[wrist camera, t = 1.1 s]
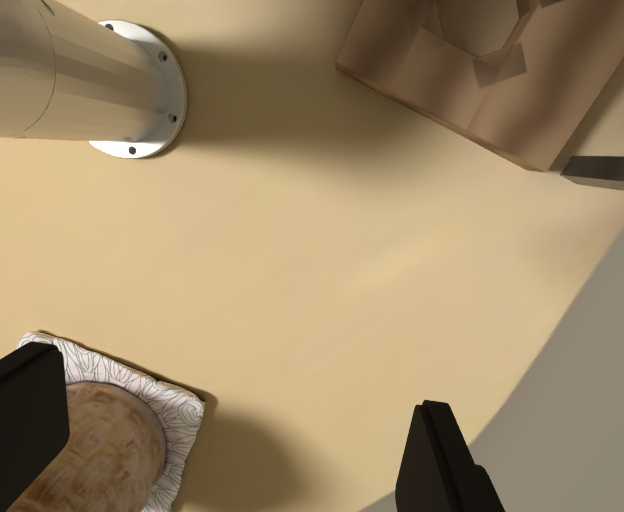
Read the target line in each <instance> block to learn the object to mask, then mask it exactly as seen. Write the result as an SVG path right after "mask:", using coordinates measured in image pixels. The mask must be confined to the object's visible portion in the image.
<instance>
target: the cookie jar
mask: <svg viewBox="0 0 624 512" xmlns="http://www.w3.org/2000/svg"><path fill="white" fill-rule="evenodd" d="M33 341H35V342H41V343H48V344H54V345H56V346H57V347H58V349H59V351H60V352H62V354H63V357H64V369H65V380H66V392H67V404H68V415H69V427H70V436H69V440H68V442H67V444H66V446H65V447H64V449H63V450H62V451H61V452H60V453H59V454H58V455H57V456H56V457H55V459H54V460H53V461H52V462H51V463H50V464H49V465H48V466H47V467H46V468H45V469H44V470H43V472H42V473H41V474H40V475H39V476H38V477H37V478H36V479H35V480H34V481H33V482H32V483H31V485H30V486H29V487H28V488H27V489H26V490H25V491H24V492H23V493H22V494H21V495H20V496H19V498H18V499H17V500H16V501H15V502H14V503H13V504H12V505H11V506H10V507H9V508H8V510H7V511H6V512H171V504H172V502H173V501H174V499H175V498H176V496H177V493H178V490H179V487H180V485H181V477H182V472H183V470H184V466H185V460H186V458H187V456H188V454H189V452H190V450H191V448H192V446H193V444H194V442H195V439H196V436H197V431H198V429H199V428H200V427H201V422H202V417H203V413H204V406H205V403H206V402H204V403H203V402H202V401H200V400H199V398H198V397H197V396H196V395H195V394H193V393H192V392H190V391H188V390H186V389H184V388H182V387H180V386H176V385H173V384H170V383H166V382H163V381H160V380H157V379H155V378H153V377H151V376H149V375H147V374H146V373H143V372H141V371H138V370H136V369H133V368H131V367H128V366H126V365H123V364H121V363H119V362H116V361H114V360H112V359H110V358H108V357H106V356H103V355H101V354H99V353H97V352H92V351H88V350H86V349H84V348H82V347H80V346H78V345H76V344H75V343H72V342H70V341H67V340H65V339H62V338H58V337H54V336H51V335H48V334H44V333H40V332H29V333H27V334H26V335H24V336H23V337H22V338H21V339H20V343H19V344H18V346H17V348H16V350H17V349H18V348H20V347H21V346H23V345H25V344H26V343H29V342H33Z"/></svg>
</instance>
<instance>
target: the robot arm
mask: <svg viewBox="0 0 624 512" xmlns="http://www.w3.org/2000/svg"><path fill="white" fill-rule="evenodd" d="M113 30H114V31H113ZM166 56H167V60H166V61H165V57H166ZM186 111H187V88H186V82H185V79H184V75H183V72H182V69H181V67H180V65H179V63H178V61H177V59H176V57H175V56H174V54H173V53H172V52H171V50H170V49H169V48H168V46H167V45H166V44H165V43H164V42H163V41H162V40H160V39H159V38H158V37H157V36H156V35H154V34H153V33H151V32H150V31H148V30H147V29H145V28H143V27H141V26H139V25H137V24H135V23H132V22H128V21H125V20H113V19H110V20H104V21H99V22H95V21H94V20H92V19H90V18H88V17H86V16H84V15H82V14H80V13H78V12H76V11H75V10H73V9H71V8H69V7H67V6H65V5H63V4H61V3H59V2H58V1H56V0H0V137H2V138H26V139H48V140H71V141H88V142H90V143H91V144H92V145H93V146H94V147H96V148H98V149H99V150H101V151H103V152H105V153H107V154H110V155H112V156H115V157H120V158H126V159H137V158H145V157H149V156H152V155H155V154H157V153H159V152H160V151H162V150H164V149H165V148H166V147H167V146H168V145H169V144H171V143H172V142H173V141H174V139H175V138H176V136H177V135H178V133H179V132H180V130H181V127H182V125H183V123H184V120H185V116H186ZM175 117H177V121H175V120H174V118H175ZM135 149H136V152H135ZM69 436H70V427H69V415H68V404H67V392H66V380H65V369H64V357H63V354H62V352H60V351H59V349H58V347H57V346H56V345H54V344H48V343H41V342H35V341H33V342H29V343H26V344H25V345H23V346H21V347H20V348H18V349H17V350H15V351H13V352H12V353H10V354H8V355H7V356H5V357H4V358H2V359H0V512H6V511H7V510H8V508H9V507H10V506H11V505H12V504H13V503H14V502H15V501H16V500H17V499H18V498H19V496H20V495H21V494H22V493H23V492H24V491H25V490H26V489H27V488H28V487H29V486H30V485H31V483H32V482H33V481H34V480H35V479H36V478H37V477H38V476H39V475H40V474H41V473H42V472H43V470H44V469H45V468H46V467H47V466H48V465H49V464H50V463H51V462H52V461H53V460H54V459H55V457H56V456H57V455H58V454H59V453H60V452H61V451H62V450H63V449H64V447H65V446H66V444H67V442H68V440H69ZM395 498H396V506H397V512H505V510H504V508H503V506H502V504H501V502H500V499H499V497H498V495H497V493H496V491H495V488H494V486H493V484H492V482H491V480H490V478H489V475H488V474H487V472H486V470H485V469H484V468H483V467H482V466H481V465H475V463H474V461H473V459H472V456H471V454H470V452H469V449H468V447H467V445H466V442H465V440H464V438H463V435H462V433H461V431H460V428H459V426H458V424H457V422H456V419H455V417H454V415H453V412H452V410H451V408H450V406H449V404H447V403H443V402H437V401H430V400H424V402H423V404H422V405H416V406H415V409H414V413H413V417H412V421H411V425H410V429H409V433H408V438H407V442H406V446H405V450H404V454H403V458H402V462H401V466H400V471H399V475H398V479H397V483H396V490H395Z"/></svg>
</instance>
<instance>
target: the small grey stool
mask: <svg viewBox="0 0 624 512" xmlns="http://www.w3.org/2000/svg"><path fill="white" fill-rule="evenodd" d="M560 175H561V176H563V177H565V178H567V179H568V180H570V181H572V182H574V183H576V184H579V185H587V186H594V187H602V188H609V189H616V190H624V157H613V156H572V158H571V159H570V161H569V162H568V164H567V165H566V167H565V168H564V170H563V171H562V172H561V174H560Z"/></svg>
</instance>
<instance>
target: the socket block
mask: <svg viewBox="0 0 624 512" xmlns="http://www.w3.org/2000/svg"><path fill="white" fill-rule="evenodd" d="M516 1H517V6H518V12H519V18H520V19H519V20H518V22H517V24H516V26H515V27H514V29H513V31H512V33H511V34H510V36H509V38H508V39H507V41H506V43H505V45H504V46H503V48H502V49H501V50H498V51H495V52H493V53H490V54H487V55H485V56H482V57H479V58H476V57H475V56H473V55H471V54H469V53H467V52H465V51H463V50H462V49H460V48H458V47H456V46H454V45H452V44H451V43H449V42H447V41H445V40H444V38H443V34H442V29H441V25H440V20H439V16H438V11H437V7H436V2H435V0H363V2H362V5H361V7H360V9H359V11H358V13H357V15H356V18H355V20H354V22H353V24H352V26H351V29H350V31H349V33H348V35H347V37H346V40H345V42H344V44H343V46H342V48H341V50H340V53H339V55H338V57H337V59H336V69H337V70H338V71H340V72H342V73H344V74H346V75H348V76H350V77H352V78H353V79H355V80H357V81H359V82H361V83H363V84H365V85H367V86H369V87H370V88H372V89H374V90H376V91H378V92H380V93H382V94H384V95H386V96H387V97H389V98H391V99H393V100H395V101H397V102H399V103H401V104H403V105H405V106H406V107H408V108H410V109H412V110H414V111H416V112H418V113H420V114H422V115H423V116H425V117H427V118H429V119H431V120H433V121H435V122H437V123H439V124H440V125H442V126H444V127H446V128H448V129H450V130H452V131H454V132H456V133H457V134H459V135H461V136H463V137H465V138H467V139H469V140H471V141H473V142H475V143H476V144H478V145H480V146H482V147H484V148H486V149H488V150H490V151H492V152H493V153H495V154H497V155H499V156H501V157H503V158H505V159H507V160H509V161H510V162H512V163H514V164H516V165H518V166H520V167H522V168H524V169H526V170H529V171H539V172H547V170H548V169H549V167H550V166H551V164H552V163H553V161H554V160H555V158H556V157H557V155H558V154H559V152H560V151H561V150H562V148H563V147H564V145H565V144H566V142H567V141H568V139H569V138H570V136H571V135H572V133H573V132H574V130H575V129H576V127H577V126H578V124H579V123H580V121H581V120H582V118H583V117H584V116H585V114H586V113H587V111H588V110H589V108H590V107H591V105H592V104H593V102H594V101H595V99H596V98H597V96H598V95H599V93H600V92H601V90H602V89H603V87H604V86H605V84H606V83H607V82H608V80H609V79H610V77H611V76H612V74H613V73H614V71H615V70H616V68H617V67H618V65H619V64H620V62H621V61H622V59H623V58H624V0H516Z"/></svg>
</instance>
